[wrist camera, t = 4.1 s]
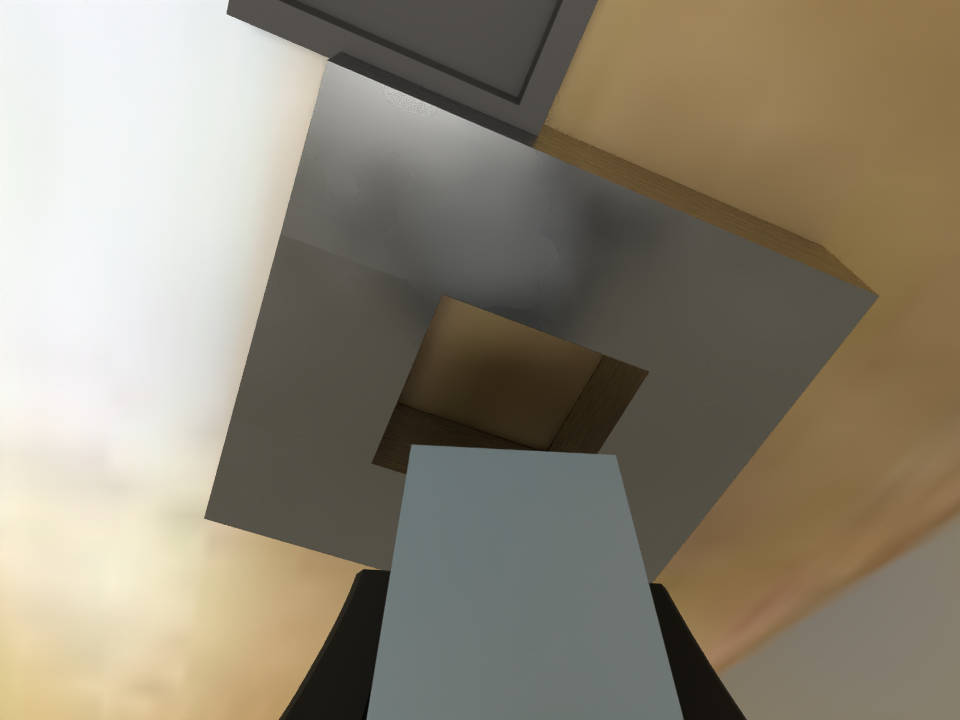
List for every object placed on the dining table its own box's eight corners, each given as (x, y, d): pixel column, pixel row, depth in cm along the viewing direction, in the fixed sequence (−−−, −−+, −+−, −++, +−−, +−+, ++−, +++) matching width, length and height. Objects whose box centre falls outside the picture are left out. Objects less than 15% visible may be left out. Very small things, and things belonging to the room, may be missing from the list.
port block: (823, 246, 17) (878, 295, 14) (597, 562, 22) (610, 635, 20) (354, 42, 14) (327, 60, 12) (238, 451, 20) (204, 518, 18)
